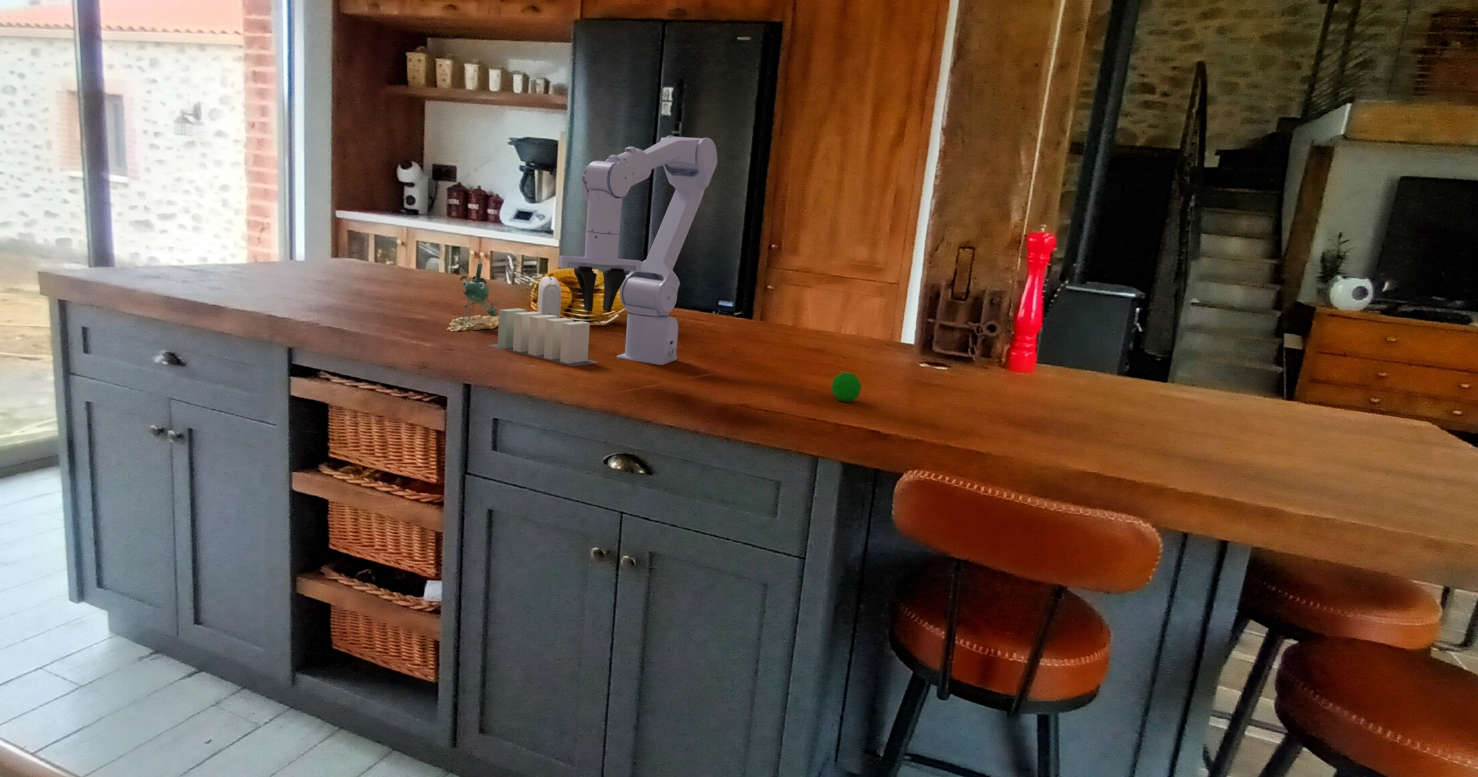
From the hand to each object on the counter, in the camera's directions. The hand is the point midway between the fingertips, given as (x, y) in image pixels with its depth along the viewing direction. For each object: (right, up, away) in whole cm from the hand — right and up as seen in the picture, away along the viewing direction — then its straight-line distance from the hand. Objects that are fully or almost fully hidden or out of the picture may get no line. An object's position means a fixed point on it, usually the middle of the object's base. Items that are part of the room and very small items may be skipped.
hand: (597, 311), depth 153 cm
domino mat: (-12, -7, +9) cm, 16 cm away
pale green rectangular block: (-19, -6, +13) cm, 23 cm away
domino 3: (-8, -8, +7) cm, 13 cm away
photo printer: (-16, -3, +30) cm, 34 cm away
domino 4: (-5, -9, +5) cm, 11 cm away
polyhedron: (+43, -16, -4) cm, 46 cm away
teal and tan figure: (-30, -1, +32) cm, 45 cm away
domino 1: (-15, -6, +11) cm, 20 cm away
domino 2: (-12, -7, +9) cm, 16 cm away
